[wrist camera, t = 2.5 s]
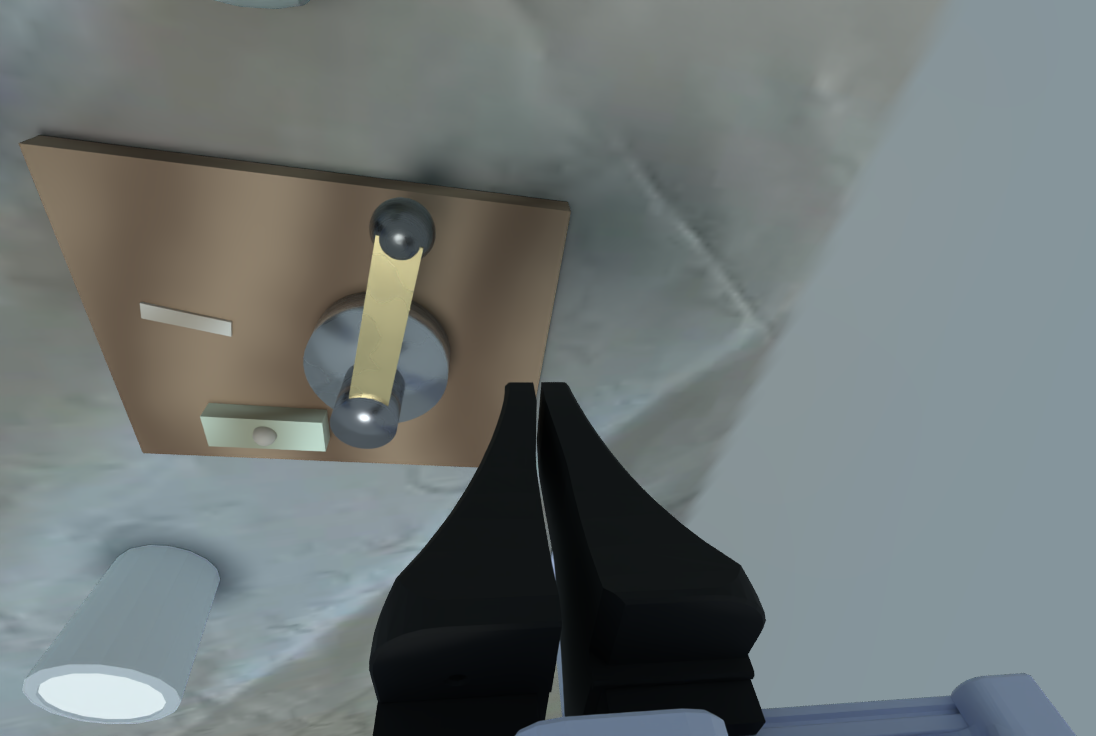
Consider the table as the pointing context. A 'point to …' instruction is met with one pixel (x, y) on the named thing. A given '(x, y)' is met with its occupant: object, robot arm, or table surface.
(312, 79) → the table surface
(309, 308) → the board
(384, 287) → the grey and tan lever
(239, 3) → the air freshener
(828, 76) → the table surface
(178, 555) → the white cylinder
